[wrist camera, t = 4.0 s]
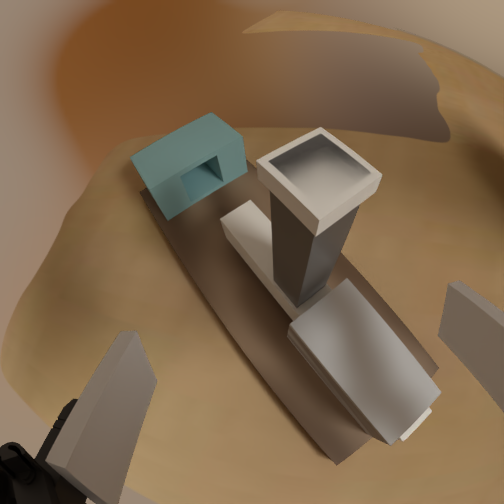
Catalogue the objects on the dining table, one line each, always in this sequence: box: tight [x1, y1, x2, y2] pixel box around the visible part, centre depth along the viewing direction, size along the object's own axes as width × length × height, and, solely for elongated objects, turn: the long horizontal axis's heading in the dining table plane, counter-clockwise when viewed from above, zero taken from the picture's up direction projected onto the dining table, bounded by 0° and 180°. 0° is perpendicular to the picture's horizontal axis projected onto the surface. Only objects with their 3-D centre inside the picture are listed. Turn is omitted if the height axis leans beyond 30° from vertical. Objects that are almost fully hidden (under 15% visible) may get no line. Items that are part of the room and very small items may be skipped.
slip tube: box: [220, 127, 432, 441], centre depth 14 cm, size 3×22×14 cm, turn 36°
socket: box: [130, 112, 248, 220], centre depth 28 cm, size 10×6×5 cm, turn 126°
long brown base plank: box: [140, 160, 441, 465], centre depth 23 cm, size 12×34×6 cm, turn 36°
